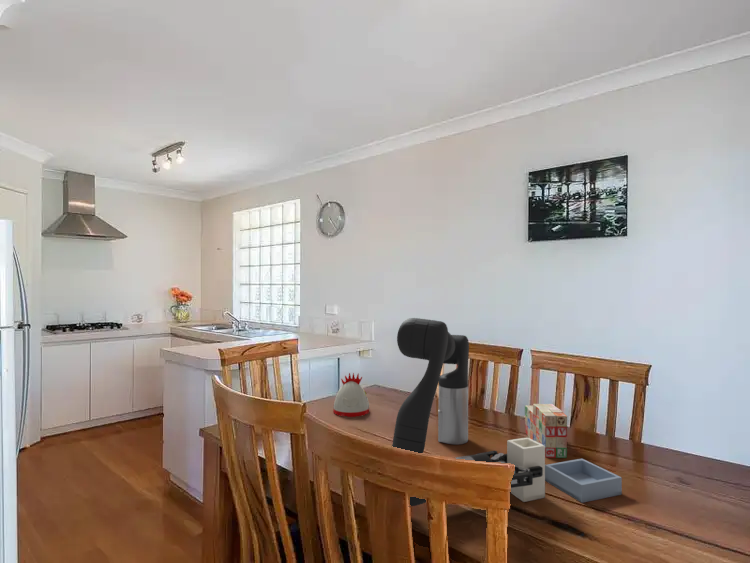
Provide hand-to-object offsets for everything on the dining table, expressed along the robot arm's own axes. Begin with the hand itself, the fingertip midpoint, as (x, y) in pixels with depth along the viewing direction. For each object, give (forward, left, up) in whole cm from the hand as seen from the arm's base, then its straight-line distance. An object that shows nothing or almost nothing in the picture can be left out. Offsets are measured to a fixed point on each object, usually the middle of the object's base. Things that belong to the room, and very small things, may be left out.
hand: (529, 463), depth 106 cm
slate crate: (+13, +5, -7) cm, 16 cm away
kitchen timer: (-57, +58, -7) cm, 82 cm away
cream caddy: (-1, -1, -7) cm, 7 cm away
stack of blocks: (+10, +34, -7) cm, 37 cm away
